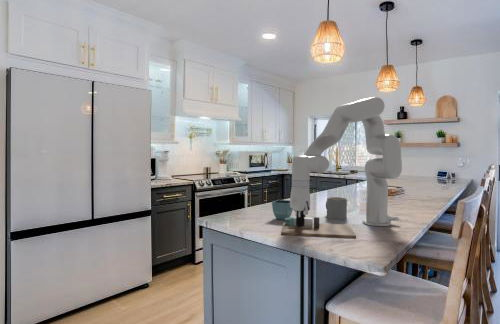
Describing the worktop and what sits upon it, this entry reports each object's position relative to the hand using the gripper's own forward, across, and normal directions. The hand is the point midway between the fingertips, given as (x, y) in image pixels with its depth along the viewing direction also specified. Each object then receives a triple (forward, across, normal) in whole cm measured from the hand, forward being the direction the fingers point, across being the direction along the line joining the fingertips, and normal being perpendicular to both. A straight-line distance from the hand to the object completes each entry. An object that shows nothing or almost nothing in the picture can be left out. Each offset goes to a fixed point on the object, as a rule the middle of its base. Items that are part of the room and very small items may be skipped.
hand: (300, 225), depth 138 cm
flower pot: (+2, -24, +4) cm, 24 cm away
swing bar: (+1, -3, +2) cm, 4 cm away
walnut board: (+2, +3, +7) cm, 8 cm away
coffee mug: (+2, -17, +32) cm, 36 cm away
